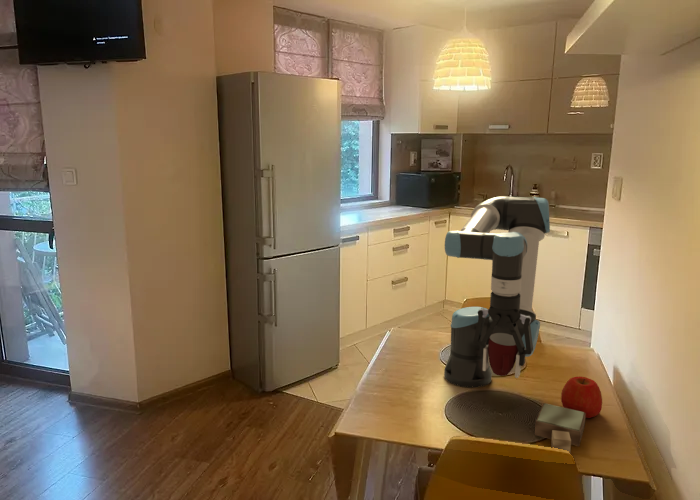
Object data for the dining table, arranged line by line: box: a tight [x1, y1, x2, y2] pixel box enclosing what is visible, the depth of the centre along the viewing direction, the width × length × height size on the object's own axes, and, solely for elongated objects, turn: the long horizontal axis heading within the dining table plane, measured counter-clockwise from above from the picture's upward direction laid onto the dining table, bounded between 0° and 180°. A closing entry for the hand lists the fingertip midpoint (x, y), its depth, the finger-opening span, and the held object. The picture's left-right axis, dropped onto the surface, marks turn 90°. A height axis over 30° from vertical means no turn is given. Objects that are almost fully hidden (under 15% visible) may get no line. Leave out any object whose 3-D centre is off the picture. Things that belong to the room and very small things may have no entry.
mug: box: [488, 333, 519, 377], centre depth 143 cm, size 11×8×10 cm
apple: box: [560, 376, 603, 419], centre depth 151 cm, size 11×11×11 cm
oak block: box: [550, 430, 572, 453], centre depth 134 cm, size 4×4×4 cm
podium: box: [534, 402, 586, 447], centre depth 142 cm, size 11×11×4 cm
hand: (501, 372), depth 144 cm, fingers closed on mug, 8 cm apart
